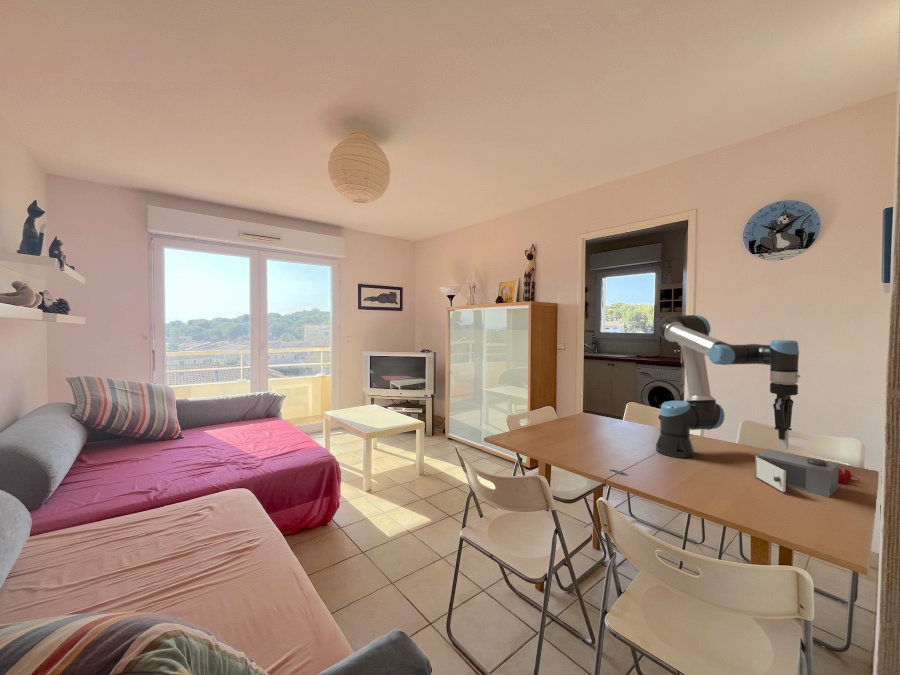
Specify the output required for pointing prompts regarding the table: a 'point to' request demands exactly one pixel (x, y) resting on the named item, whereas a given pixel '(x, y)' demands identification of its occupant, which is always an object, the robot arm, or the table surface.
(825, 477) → the case
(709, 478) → the table surface
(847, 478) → the alarm clock
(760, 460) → the door
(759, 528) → the table surface
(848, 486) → the table surface
